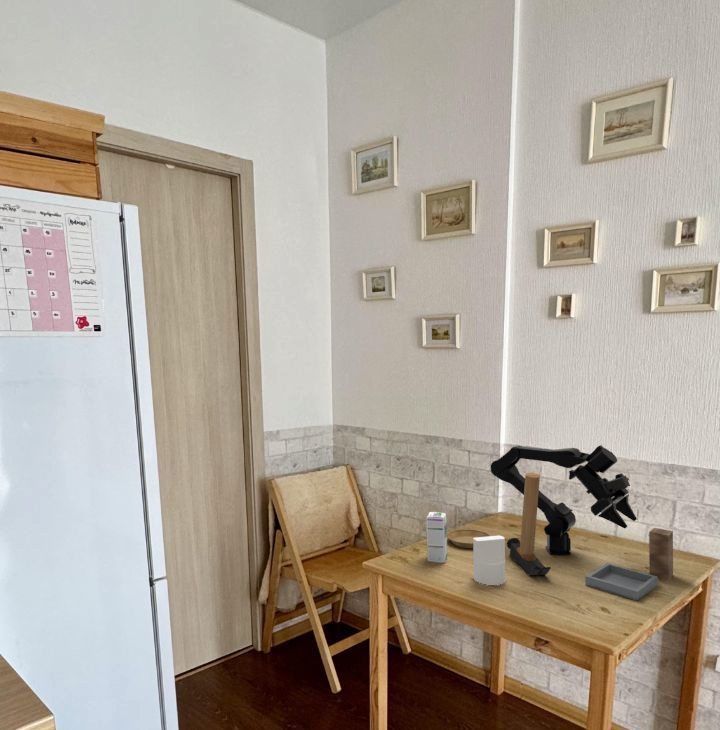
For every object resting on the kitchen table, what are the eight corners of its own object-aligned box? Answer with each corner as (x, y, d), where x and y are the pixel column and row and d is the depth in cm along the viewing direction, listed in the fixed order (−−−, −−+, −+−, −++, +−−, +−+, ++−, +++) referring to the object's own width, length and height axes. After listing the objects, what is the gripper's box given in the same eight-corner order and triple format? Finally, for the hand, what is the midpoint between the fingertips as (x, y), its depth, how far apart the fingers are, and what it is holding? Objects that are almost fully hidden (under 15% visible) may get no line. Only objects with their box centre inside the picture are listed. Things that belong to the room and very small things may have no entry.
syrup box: (445, 563, 170) (444, 517, 170) (426, 561, 172) (426, 516, 171) (447, 556, 176) (447, 512, 175) (429, 555, 177) (428, 511, 177)
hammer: (549, 585, 158) (557, 489, 152) (532, 586, 157) (540, 490, 151) (520, 549, 177) (527, 462, 171) (505, 550, 177) (511, 463, 171)
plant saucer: (450, 551, 181) (450, 543, 181) (444, 536, 196) (444, 529, 196) (495, 550, 181) (495, 542, 181) (485, 535, 196) (485, 528, 196)
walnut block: (649, 576, 158) (649, 531, 158) (654, 571, 162) (653, 527, 161) (668, 580, 154) (668, 535, 154) (673, 575, 158) (672, 531, 158)
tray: (637, 601, 142) (637, 591, 142) (585, 585, 153) (585, 576, 153) (657, 585, 152) (657, 576, 151) (607, 571, 162) (607, 562, 162)
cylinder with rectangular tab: (481, 587, 152) (480, 544, 152) (468, 574, 161) (468, 534, 161) (511, 584, 154) (510, 542, 154) (497, 571, 163) (496, 532, 163)
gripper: (601, 471, 160) (642, 515, 152) (621, 461, 174) (660, 501, 166) (574, 493, 165) (613, 537, 158) (596, 482, 179) (632, 522, 172)
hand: (631, 523), depth 163 cm, fingers open, 9 cm apart
